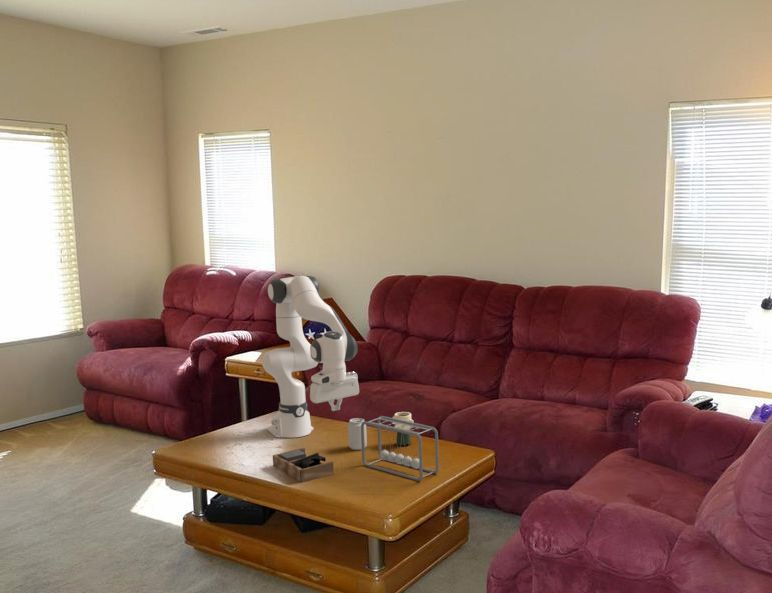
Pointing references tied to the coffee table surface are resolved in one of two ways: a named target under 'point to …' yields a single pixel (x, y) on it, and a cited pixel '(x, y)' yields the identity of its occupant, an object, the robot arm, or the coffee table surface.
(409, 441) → the character mug
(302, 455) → the block
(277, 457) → the walnut organizer
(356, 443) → the can
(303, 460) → the end cap
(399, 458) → the newton's cradle
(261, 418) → the coffee table surface
